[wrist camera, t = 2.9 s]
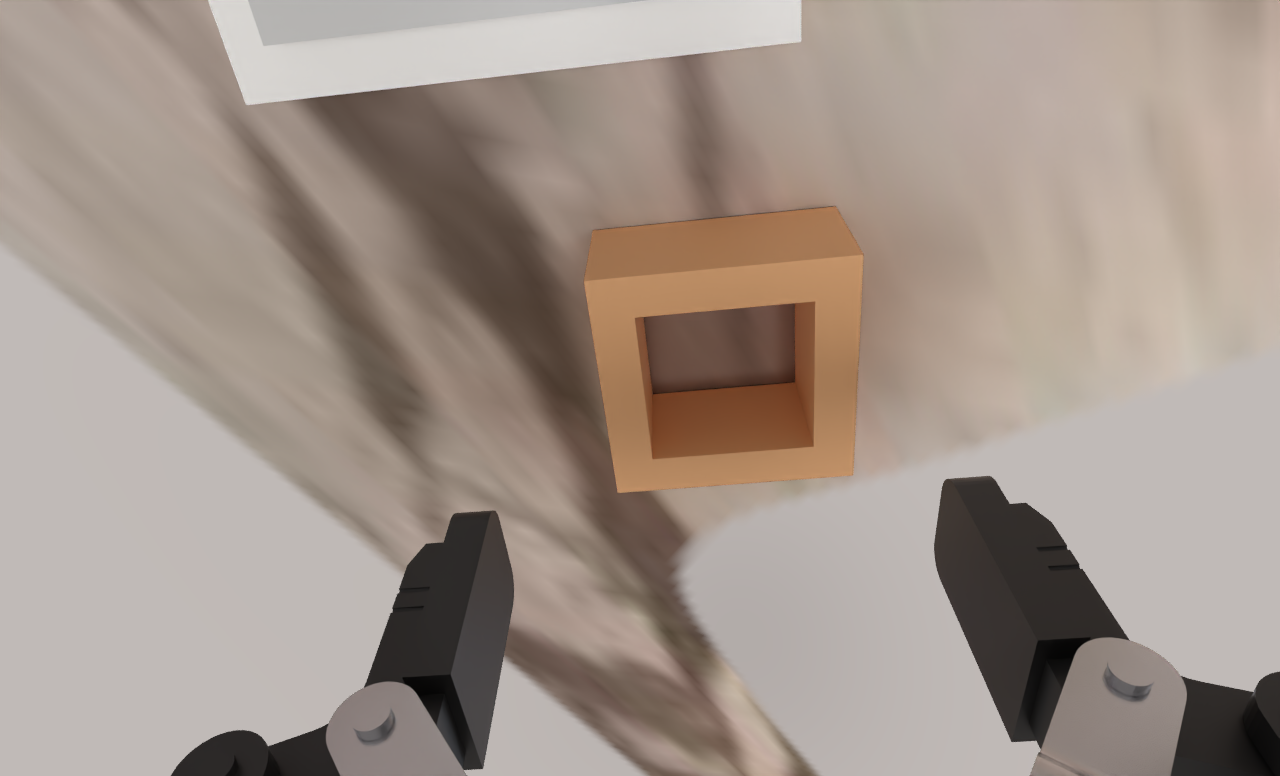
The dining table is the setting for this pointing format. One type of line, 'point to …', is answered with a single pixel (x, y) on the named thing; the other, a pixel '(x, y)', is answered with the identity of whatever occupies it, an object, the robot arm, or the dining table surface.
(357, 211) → the dining table surface
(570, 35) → the post base
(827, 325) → the ring
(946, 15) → the dining table surface
